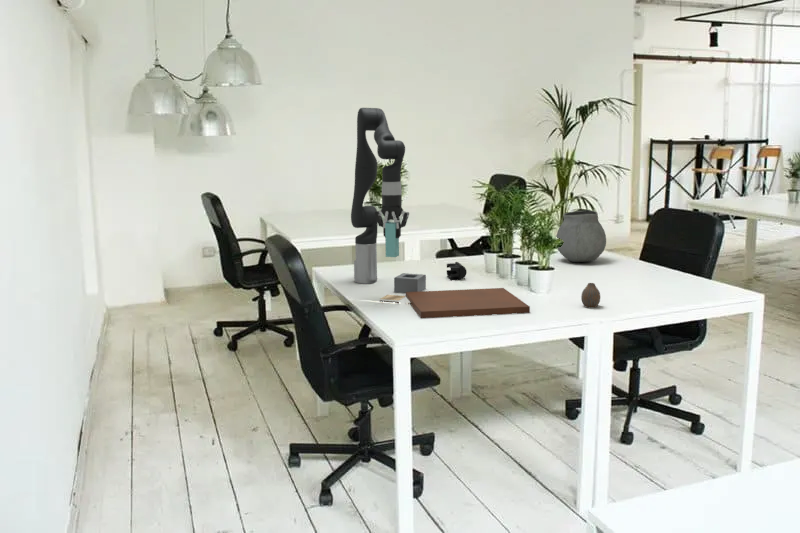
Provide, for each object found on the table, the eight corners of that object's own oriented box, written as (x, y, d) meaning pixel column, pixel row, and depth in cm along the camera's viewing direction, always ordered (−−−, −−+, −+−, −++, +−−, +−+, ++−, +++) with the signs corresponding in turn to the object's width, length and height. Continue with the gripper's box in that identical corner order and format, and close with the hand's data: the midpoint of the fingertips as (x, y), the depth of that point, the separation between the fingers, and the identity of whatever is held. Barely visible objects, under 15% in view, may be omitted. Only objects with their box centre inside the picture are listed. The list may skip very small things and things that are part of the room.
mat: (379, 301, 293) (379, 298, 293) (387, 297, 300) (387, 294, 300) (398, 302, 290) (398, 300, 290) (406, 298, 297) (406, 296, 297)
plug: (385, 256, 291) (385, 223, 289) (389, 255, 295) (389, 222, 292) (395, 257, 290) (394, 223, 287) (399, 255, 293) (398, 222, 291)
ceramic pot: (552, 257, 387) (554, 208, 382) (601, 257, 384) (603, 209, 380) (557, 266, 363) (559, 214, 358) (609, 266, 361) (611, 214, 356)
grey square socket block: (394, 294, 304) (394, 277, 303) (403, 289, 314) (403, 273, 312) (417, 296, 301) (417, 279, 300) (425, 291, 310) (425, 274, 309)
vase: (588, 303, 286) (589, 280, 285) (603, 306, 281) (604, 283, 279) (577, 306, 282) (577, 283, 280) (592, 309, 277) (593, 286, 275)
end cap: (466, 280, 332) (466, 265, 330) (450, 281, 331) (450, 265, 330) (461, 276, 341) (461, 261, 340) (446, 276, 341) (446, 261, 339)
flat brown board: (529, 314, 273) (503, 295, 305) (529, 306, 272) (503, 287, 304) (421, 319, 267) (405, 299, 299) (420, 311, 266) (405, 292, 298)
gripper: (370, 193, 287) (371, 238, 290) (405, 194, 282) (406, 240, 285) (378, 192, 294) (379, 235, 297) (412, 193, 289) (412, 237, 292)
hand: (392, 237), depth 291 cm, fingers closed on plug, 4 cm apart
